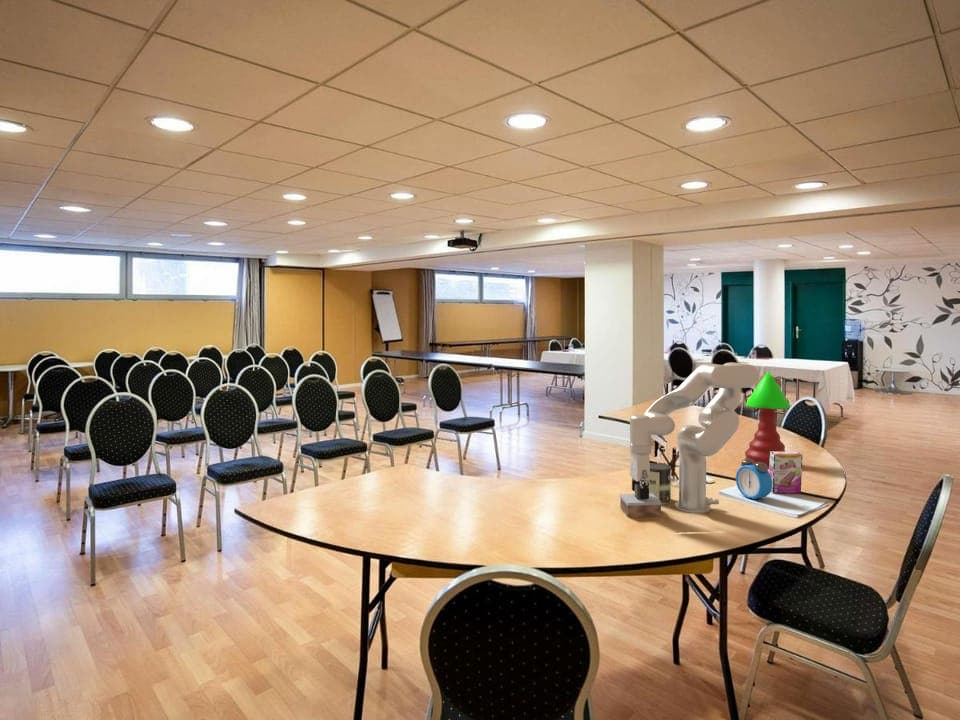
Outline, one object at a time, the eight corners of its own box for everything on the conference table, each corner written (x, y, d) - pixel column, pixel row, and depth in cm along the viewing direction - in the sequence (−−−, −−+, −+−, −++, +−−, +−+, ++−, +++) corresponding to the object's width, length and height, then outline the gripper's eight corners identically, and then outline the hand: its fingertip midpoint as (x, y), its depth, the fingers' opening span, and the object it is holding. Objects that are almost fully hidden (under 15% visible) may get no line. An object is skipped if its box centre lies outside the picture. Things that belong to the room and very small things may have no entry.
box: (651, 509, 222) (652, 496, 222) (660, 518, 212) (661, 504, 212) (620, 509, 222) (620, 496, 221) (627, 519, 212) (627, 505, 211)
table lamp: (779, 458, 294) (781, 369, 291) (796, 469, 274) (799, 373, 271) (738, 458, 296) (739, 369, 293) (752, 468, 276) (754, 373, 273)
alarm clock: (734, 494, 238) (735, 457, 237) (746, 492, 241) (747, 456, 239) (761, 503, 226) (761, 465, 225) (773, 501, 228) (773, 463, 227)
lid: (652, 495, 222) (652, 480, 221) (661, 504, 212) (661, 488, 211) (619, 496, 222) (619, 481, 221) (627, 505, 211) (627, 489, 211)
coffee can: (669, 497, 235) (669, 463, 234) (672, 506, 225) (672, 469, 224) (642, 496, 237) (642, 462, 236) (644, 504, 227) (644, 469, 226)
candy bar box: (773, 493, 238) (773, 454, 237) (768, 490, 243) (769, 451, 242) (802, 494, 237) (803, 454, 236) (796, 490, 242) (797, 451, 241)
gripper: (623, 443, 224) (623, 488, 225) (637, 454, 206) (637, 502, 208) (643, 443, 224) (643, 487, 225) (658, 454, 207) (658, 501, 208)
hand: (640, 494), depth 216 cm, fingers open, 9 cm apart
